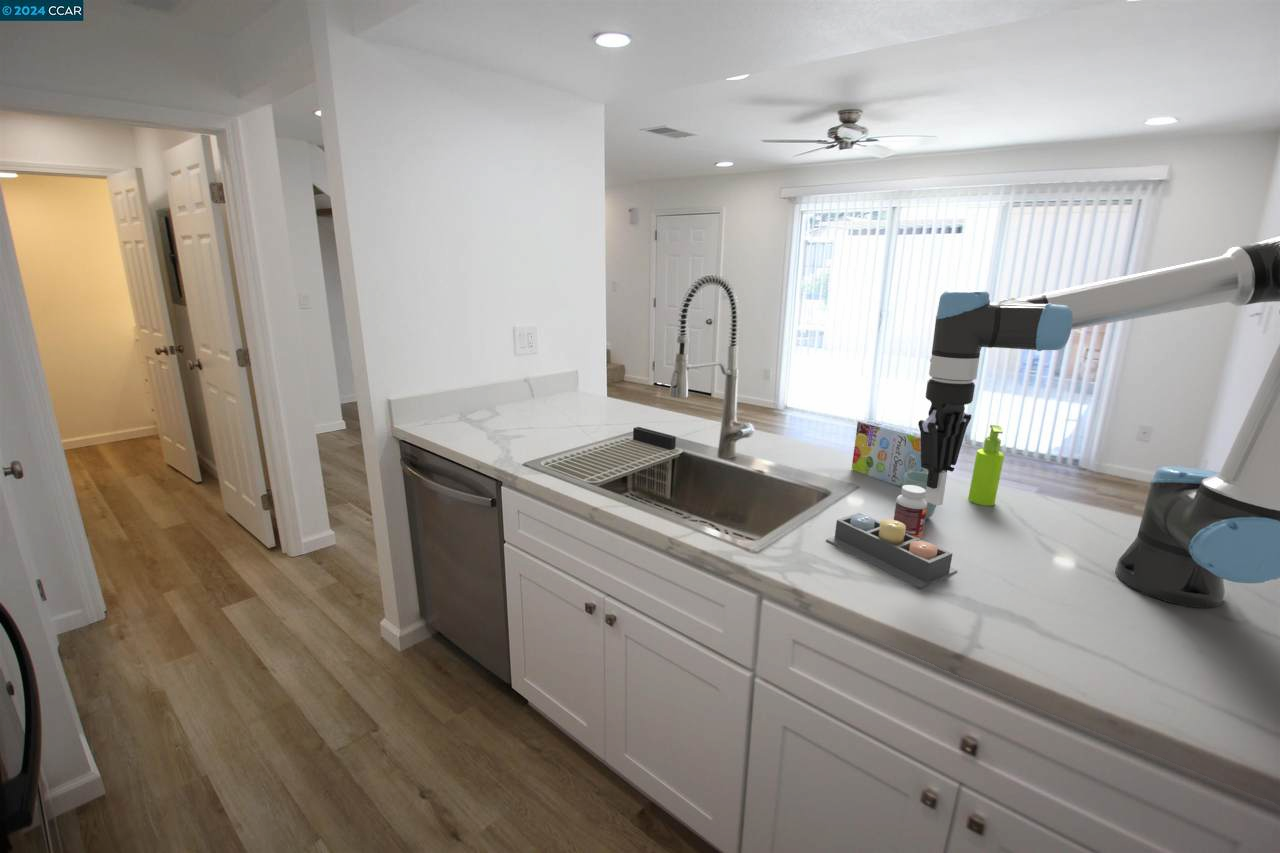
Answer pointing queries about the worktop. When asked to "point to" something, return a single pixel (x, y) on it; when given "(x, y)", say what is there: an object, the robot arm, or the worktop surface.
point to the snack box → (886, 451)
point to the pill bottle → (911, 509)
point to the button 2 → (892, 531)
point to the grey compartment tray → (892, 554)
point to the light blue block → (862, 522)
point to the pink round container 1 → (923, 549)
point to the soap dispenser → (987, 470)
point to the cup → (920, 481)
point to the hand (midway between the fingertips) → (933, 502)
